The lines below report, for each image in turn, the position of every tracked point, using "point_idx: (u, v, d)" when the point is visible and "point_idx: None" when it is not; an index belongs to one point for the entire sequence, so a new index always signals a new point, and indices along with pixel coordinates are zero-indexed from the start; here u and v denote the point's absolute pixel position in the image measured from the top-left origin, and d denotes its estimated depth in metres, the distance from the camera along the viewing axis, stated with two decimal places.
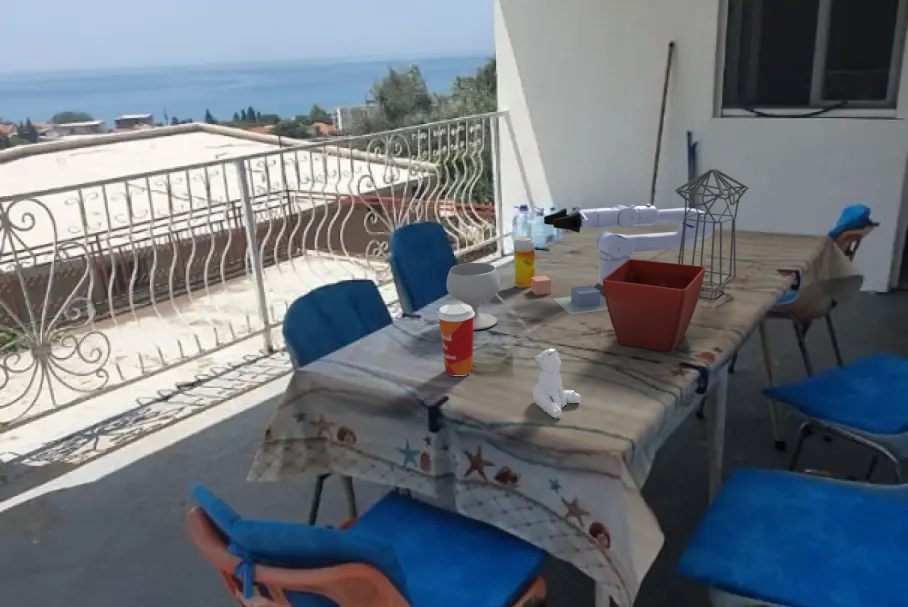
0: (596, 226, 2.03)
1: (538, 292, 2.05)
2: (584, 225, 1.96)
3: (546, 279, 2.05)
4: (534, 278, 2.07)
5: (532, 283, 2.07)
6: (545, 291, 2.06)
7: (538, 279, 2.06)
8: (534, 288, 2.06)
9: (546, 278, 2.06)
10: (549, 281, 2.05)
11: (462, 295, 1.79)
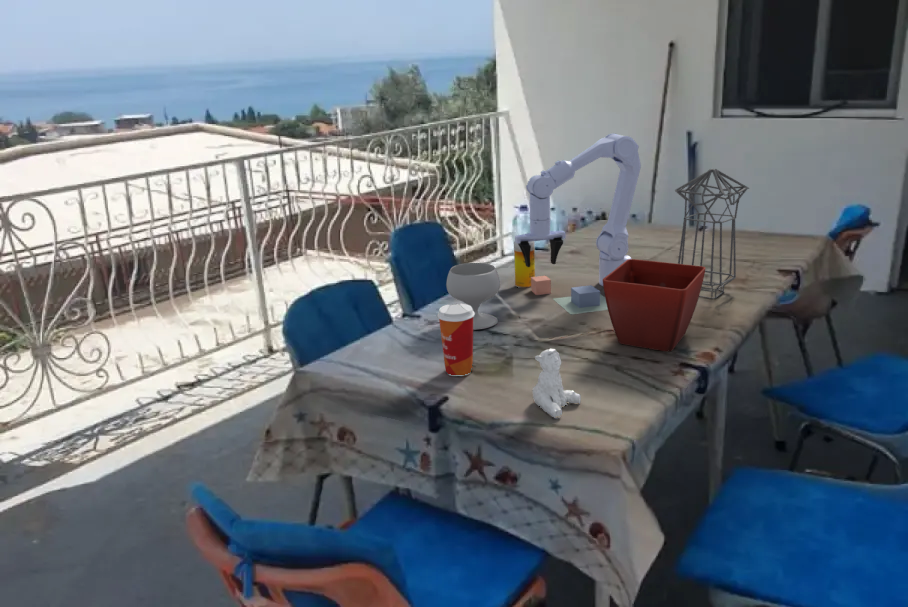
0: (535, 220, 1.98)
1: (538, 292, 2.05)
2: (516, 241, 2.01)
3: (546, 279, 2.05)
4: (534, 278, 2.07)
5: (532, 283, 2.07)
6: (545, 291, 2.06)
7: (538, 279, 2.06)
8: (534, 288, 2.06)
9: (546, 278, 2.06)
10: (549, 281, 2.05)
11: (462, 295, 1.79)
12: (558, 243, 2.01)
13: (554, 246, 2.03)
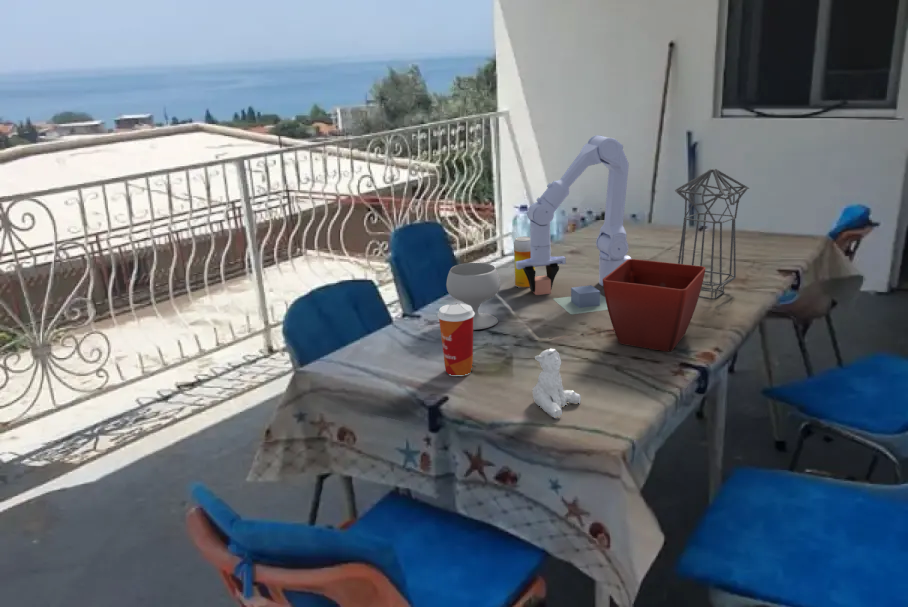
0: (535, 247, 2.01)
1: (538, 292, 2.05)
2: (517, 267, 2.03)
3: (546, 279, 2.05)
4: None
5: None
6: (545, 291, 2.05)
7: (537, 279, 2.06)
8: None
9: (546, 278, 2.06)
10: (549, 281, 2.05)
11: (462, 295, 1.79)
12: (554, 269, 2.03)
13: (550, 272, 2.05)
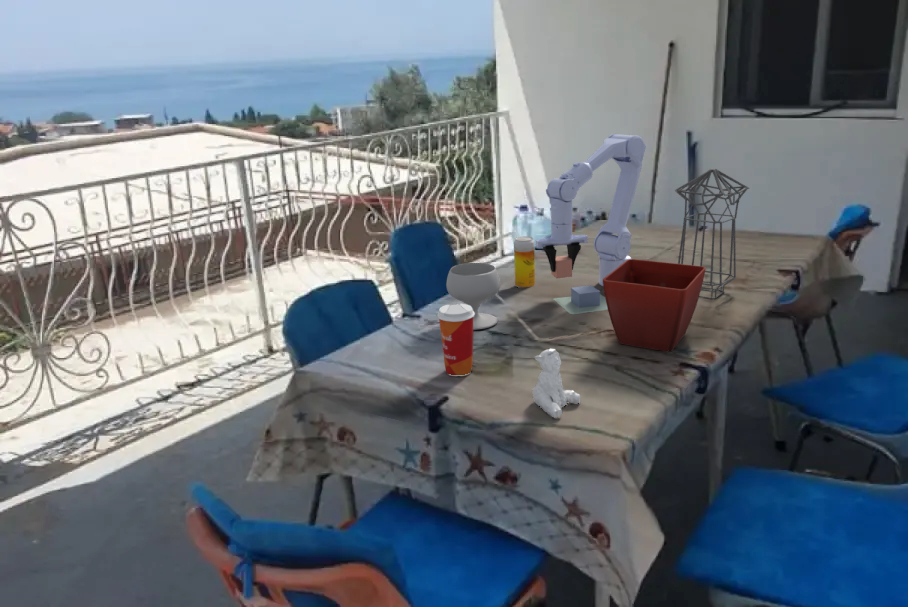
0: (556, 225, 1.93)
1: (558, 272, 1.97)
2: (537, 246, 1.95)
3: (567, 259, 1.97)
4: None
5: None
6: (566, 272, 1.98)
7: (558, 259, 1.98)
8: None
9: (567, 258, 1.98)
10: (570, 261, 1.97)
11: (462, 295, 1.79)
12: (576, 248, 1.95)
13: (571, 251, 1.97)
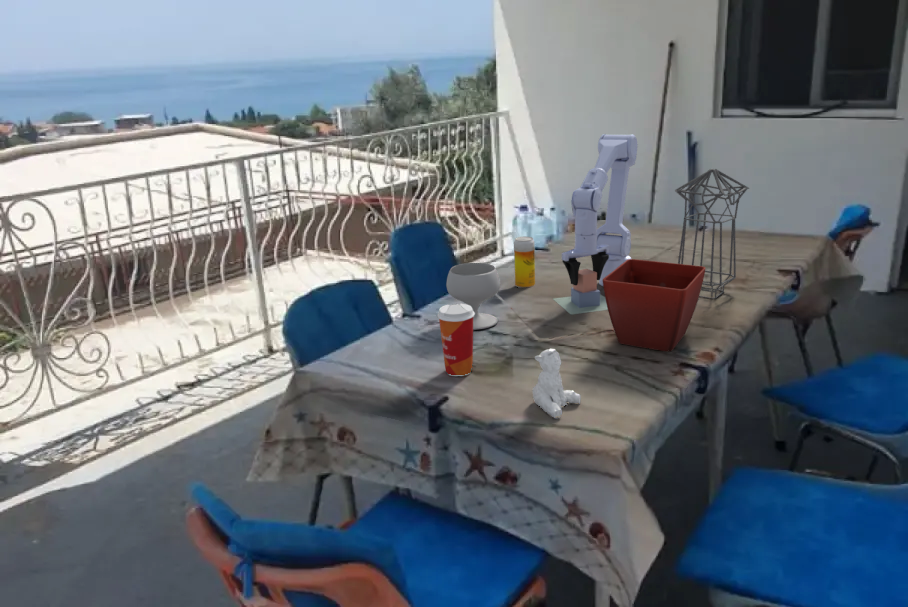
0: (583, 236, 1.87)
1: (585, 287, 1.92)
2: (564, 259, 1.88)
3: (591, 272, 1.93)
4: (578, 272, 1.93)
5: None
6: (591, 285, 1.93)
7: (583, 272, 1.93)
8: (580, 282, 1.93)
9: (590, 271, 1.94)
10: (595, 274, 1.92)
11: (462, 295, 1.79)
12: (605, 258, 1.92)
13: (600, 261, 1.93)
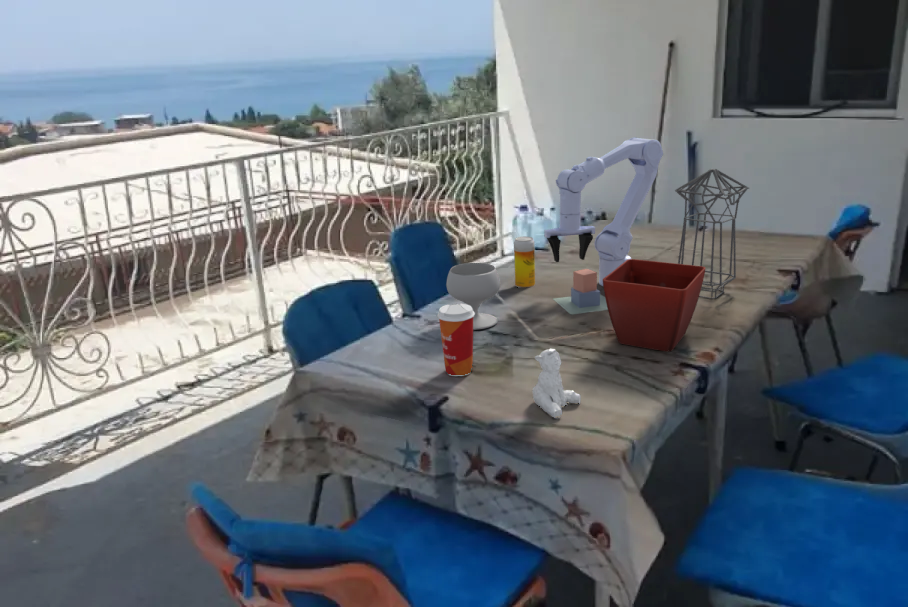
0: (565, 215, 1.97)
1: (585, 287, 1.92)
2: (546, 236, 1.99)
3: (591, 272, 1.93)
4: (578, 272, 1.93)
5: (576, 277, 1.94)
6: (591, 285, 1.93)
7: (583, 272, 1.93)
8: (580, 282, 1.93)
9: (590, 271, 1.94)
10: (595, 274, 1.92)
11: (462, 295, 1.79)
12: (588, 238, 1.99)
13: (583, 241, 2.01)
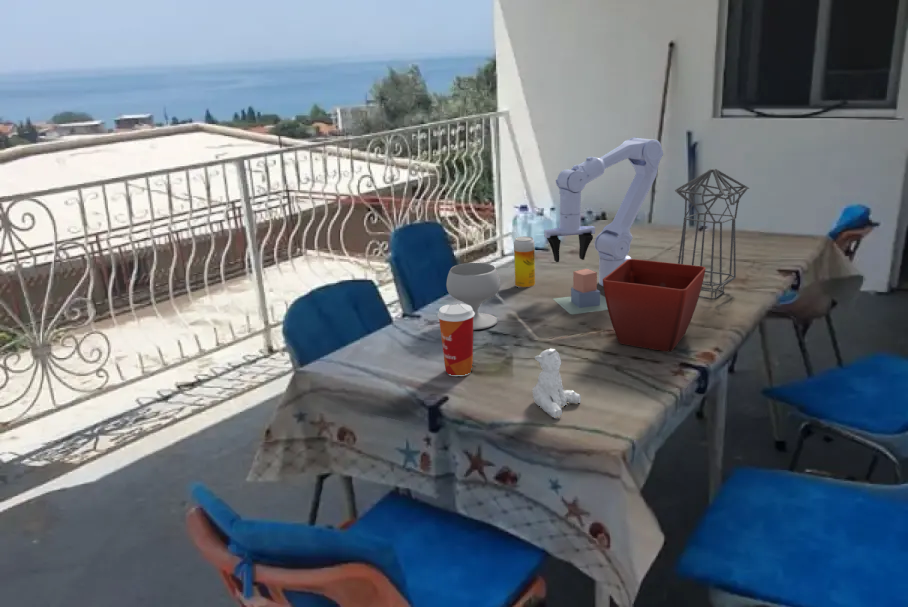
0: (565, 215, 1.97)
1: (585, 287, 1.92)
2: (546, 236, 1.99)
3: (591, 272, 1.93)
4: (578, 272, 1.93)
5: (576, 277, 1.94)
6: (591, 285, 1.93)
7: (583, 272, 1.93)
8: (580, 282, 1.93)
9: (590, 271, 1.94)
10: (595, 274, 1.92)
11: (462, 295, 1.79)
12: (588, 238, 1.99)
13: (583, 241, 2.01)
